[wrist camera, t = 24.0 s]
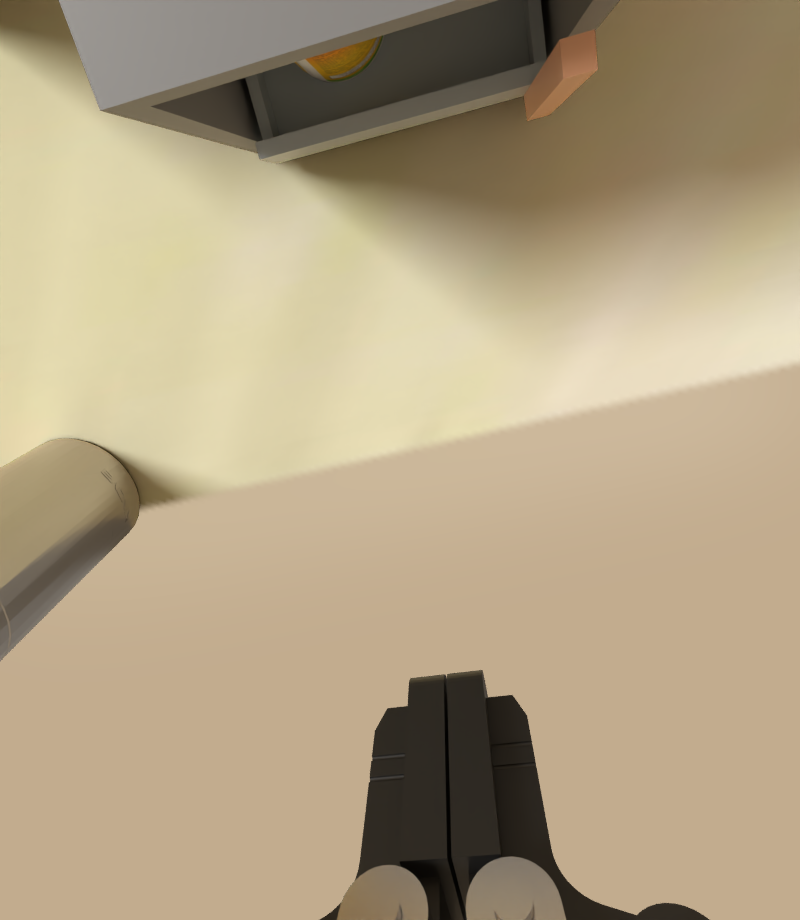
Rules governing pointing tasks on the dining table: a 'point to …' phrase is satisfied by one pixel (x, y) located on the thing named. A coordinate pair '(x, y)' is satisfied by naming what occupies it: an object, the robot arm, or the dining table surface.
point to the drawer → (423, 80)
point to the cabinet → (243, 50)
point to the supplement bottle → (342, 61)
